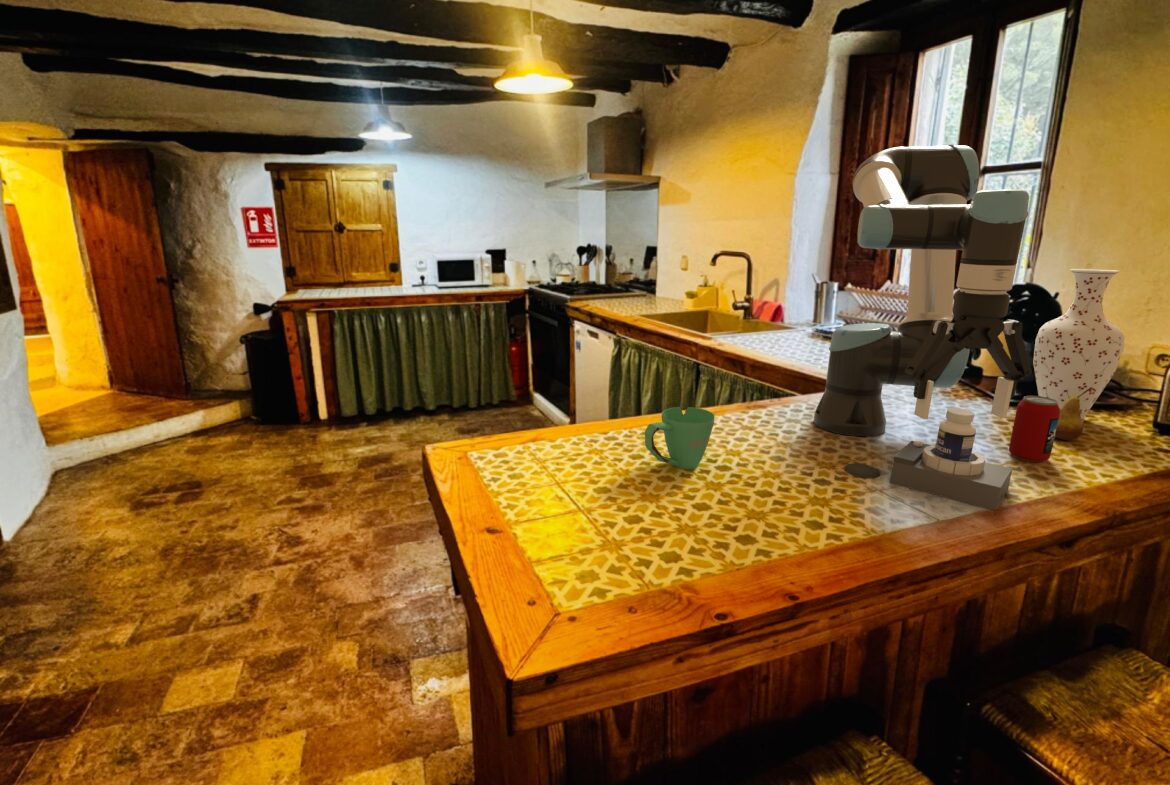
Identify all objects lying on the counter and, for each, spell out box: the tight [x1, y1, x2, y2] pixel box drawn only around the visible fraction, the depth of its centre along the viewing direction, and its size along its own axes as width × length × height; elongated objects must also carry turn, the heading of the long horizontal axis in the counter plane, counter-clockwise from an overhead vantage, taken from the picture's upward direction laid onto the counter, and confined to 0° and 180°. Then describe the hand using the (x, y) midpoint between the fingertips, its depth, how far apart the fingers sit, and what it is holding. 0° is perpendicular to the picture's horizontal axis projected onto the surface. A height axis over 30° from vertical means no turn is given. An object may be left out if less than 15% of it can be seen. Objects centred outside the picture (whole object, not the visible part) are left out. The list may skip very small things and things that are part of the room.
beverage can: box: [1008, 395, 1060, 463], centre depth 117 cm, size 7×7×12 cm
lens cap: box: [843, 463, 881, 479], centre depth 112 cm, size 6×6×1 cm
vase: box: [1032, 268, 1125, 422], centre depth 140 cm, size 16×16×35 cm
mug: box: [644, 406, 715, 470], centre depth 112 cm, size 15×10×10 cm
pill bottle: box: [934, 407, 977, 462], centre depth 103 cm, size 5×5×10 cm
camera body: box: [889, 440, 1013, 512], centre depth 105 cm, size 16×11×6 cm
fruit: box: [1055, 387, 1092, 442], centre depth 128 cm, size 6×6×12 cm
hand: (959, 416), depth 102 cm, fingers open, 13 cm apart
